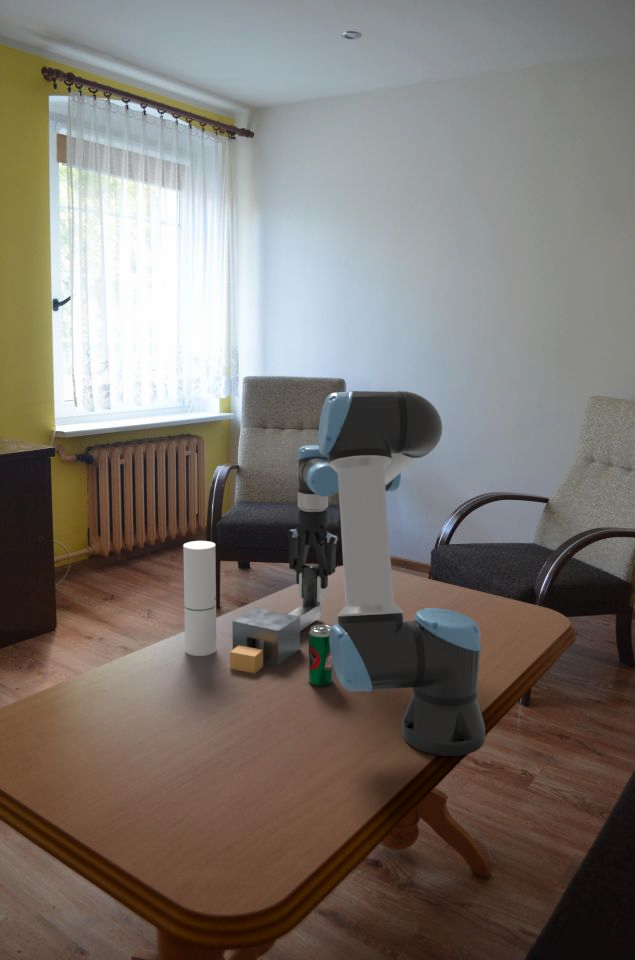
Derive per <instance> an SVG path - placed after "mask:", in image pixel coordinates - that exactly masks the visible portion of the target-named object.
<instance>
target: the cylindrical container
mask: <svg viewBox="0 0 635 960" xmlns="http://www.w3.org/2000/svg"><path fill="white" fill-rule="evenodd" d="M182 547H183V550H182V551H183V596H184V597H183V601H184V602H183V603H184V604H183V605H184V606H183V607H184V645H185V646H184V649H185V650H184V651H185V653H186V654H187V655H190V656H194V657H204V656H209V655H212V654H214V653H216V652H217V582H216V581H217V580H216V579H217V575H216V571H217V570H216V569H217V568H216V565H217V564H216V554H217V553H216V543H215V542H213V541H208V540H193V541H188V542H185V543H183V545H182Z"/></svg>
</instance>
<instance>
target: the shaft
mask: <svg viewBox="0 0 635 960" xmlns="http://www.w3.org/2000/svg"><path fill="white" fill-rule="evenodd" d="M319 575H320V571H319V566H318V563H305V565H304V566H303V598H302V605H299V606H298V607H296V608H295V609H293V610H292V611H291V612H289V613H288V614H289V615H294V616H299V617H300V632H301V631H302V630H304V629H306V628H307V627H308V626H310V625H311V624H313V623H314V622H316V621H317V620H319V619H320V618H321V617H322V602H321V601H320V602H317V576H319ZM255 648H256V649H262V650H263V651H264V641H263V640H259V639H255Z"/></svg>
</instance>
